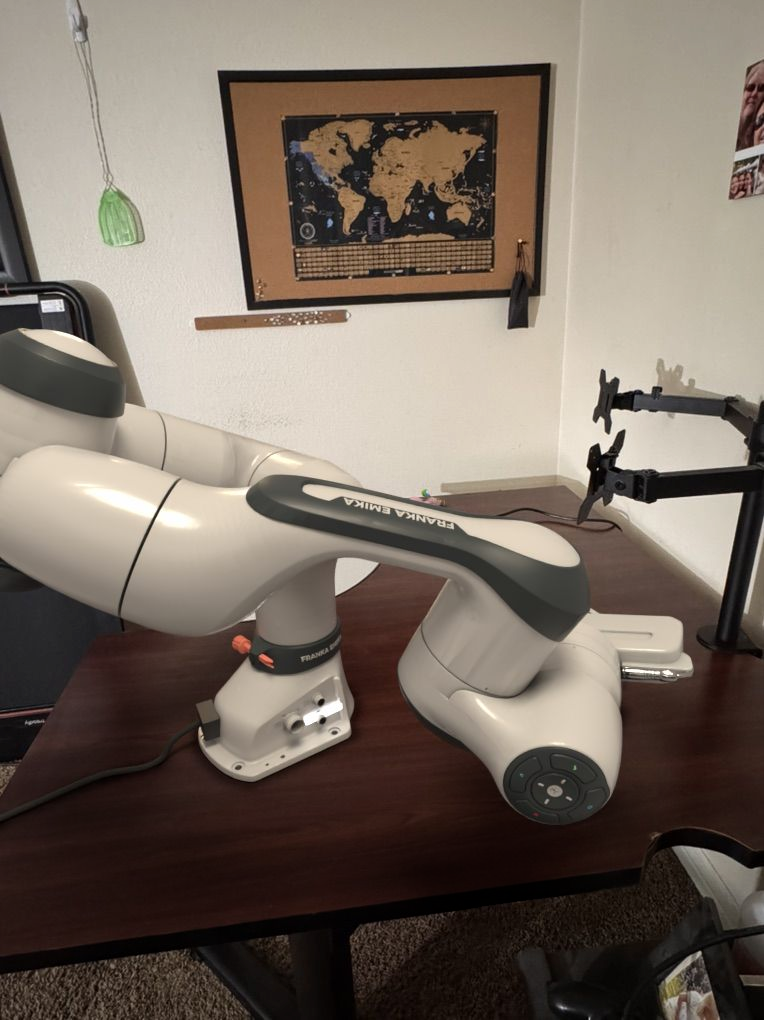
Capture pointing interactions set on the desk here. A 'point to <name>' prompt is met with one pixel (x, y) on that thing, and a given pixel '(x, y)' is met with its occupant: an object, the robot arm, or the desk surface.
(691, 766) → the desk surface
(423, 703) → the robot arm
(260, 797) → the desk surface
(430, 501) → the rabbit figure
